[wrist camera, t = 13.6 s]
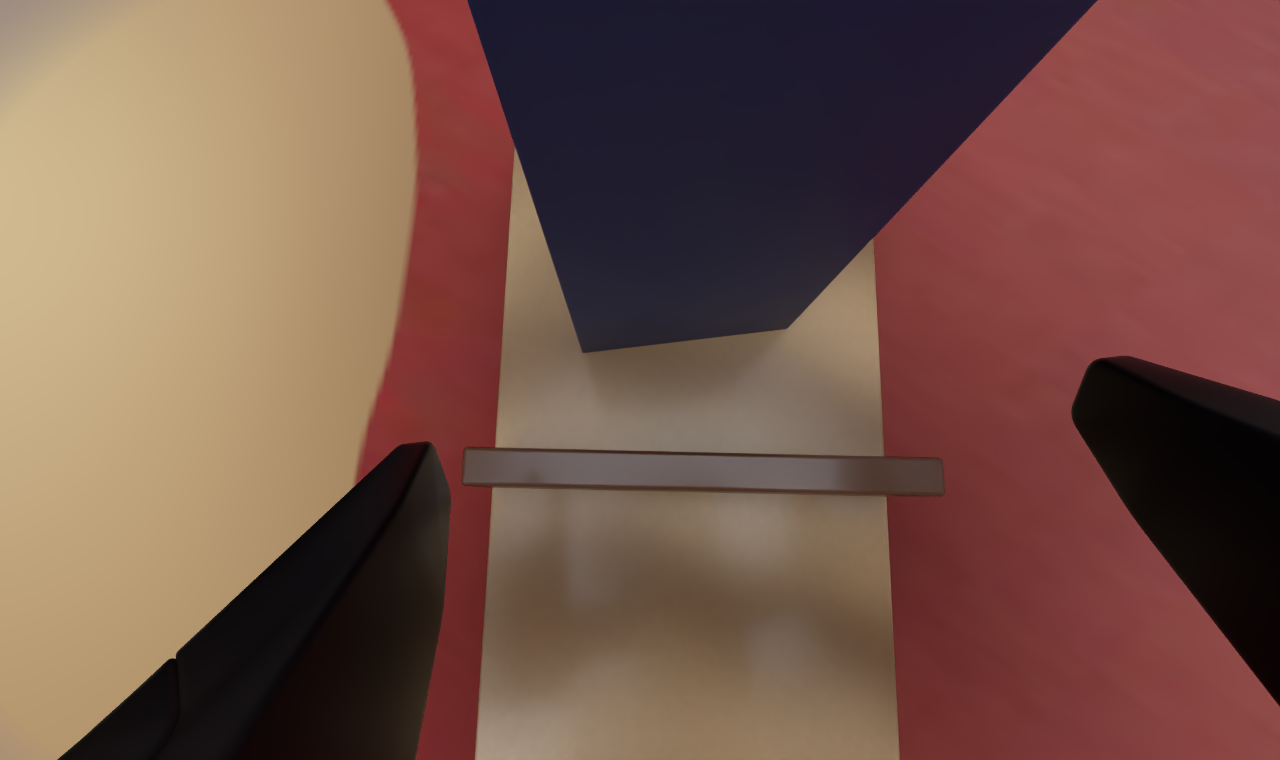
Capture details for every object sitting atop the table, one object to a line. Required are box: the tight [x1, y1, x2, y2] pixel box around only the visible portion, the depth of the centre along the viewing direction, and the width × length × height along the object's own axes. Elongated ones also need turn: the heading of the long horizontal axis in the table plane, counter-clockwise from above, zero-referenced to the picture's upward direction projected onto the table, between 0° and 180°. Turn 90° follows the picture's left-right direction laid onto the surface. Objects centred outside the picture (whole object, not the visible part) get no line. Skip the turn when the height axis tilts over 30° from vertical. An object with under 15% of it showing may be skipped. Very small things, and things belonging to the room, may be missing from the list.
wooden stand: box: [461, 148, 945, 760], centre depth 17 cm, size 18×10×8 cm, turn 179°
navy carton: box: [467, 0, 1097, 353], centre depth 11 cm, size 5×6×12 cm
